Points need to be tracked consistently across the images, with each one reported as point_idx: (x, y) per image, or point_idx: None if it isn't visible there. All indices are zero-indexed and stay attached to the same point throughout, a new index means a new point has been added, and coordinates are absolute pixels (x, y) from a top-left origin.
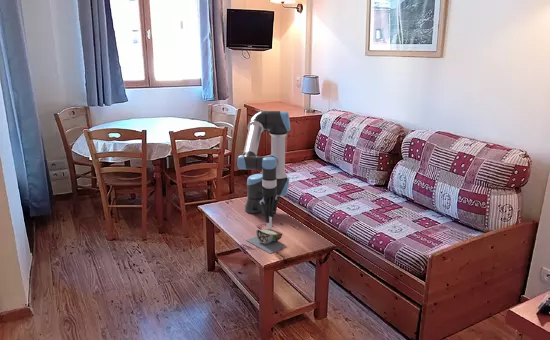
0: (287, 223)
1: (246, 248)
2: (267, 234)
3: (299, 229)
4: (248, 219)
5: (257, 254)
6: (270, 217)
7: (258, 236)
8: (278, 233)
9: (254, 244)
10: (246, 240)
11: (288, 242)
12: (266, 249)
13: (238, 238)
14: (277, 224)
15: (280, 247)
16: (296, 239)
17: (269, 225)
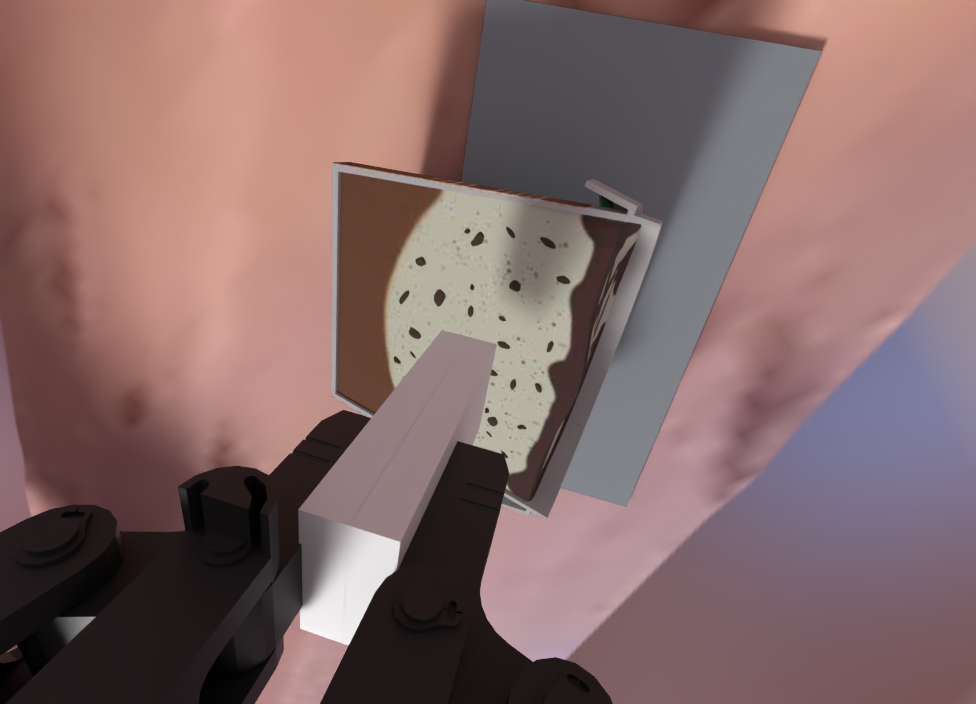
0: (81, 370)
1: (804, 416)
2: (594, 306)
3: (44, 193)
4: (294, 635)
5: (925, 206)
6: (366, 529)
7: (562, 432)
8: (388, 207)
9: (671, 391)
10: (627, 501)
11: (348, 73)
12: (724, 185)
13: (624, 574)
14: (167, 431)
15: (553, 48)
16: (213, 40)
17: (477, 387)
